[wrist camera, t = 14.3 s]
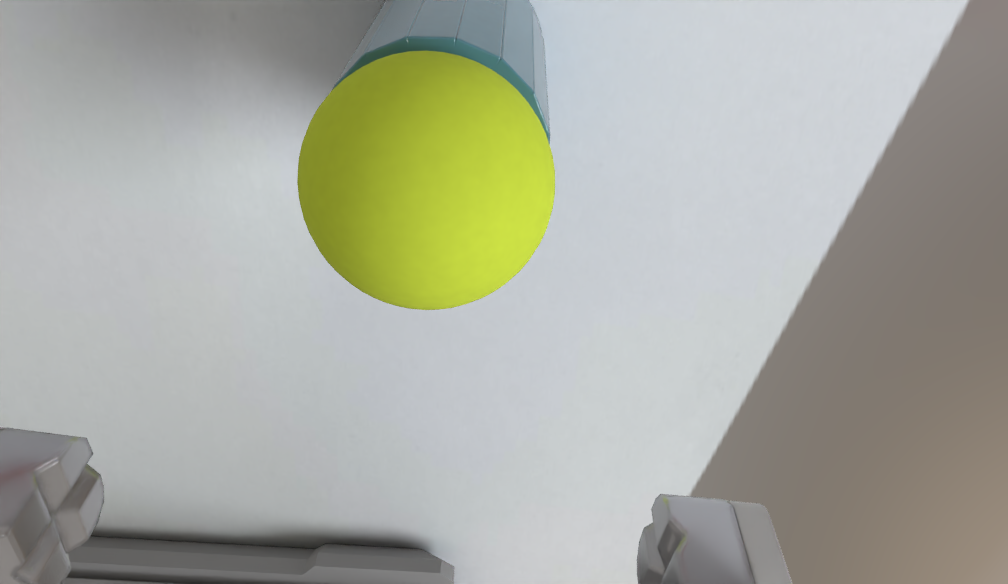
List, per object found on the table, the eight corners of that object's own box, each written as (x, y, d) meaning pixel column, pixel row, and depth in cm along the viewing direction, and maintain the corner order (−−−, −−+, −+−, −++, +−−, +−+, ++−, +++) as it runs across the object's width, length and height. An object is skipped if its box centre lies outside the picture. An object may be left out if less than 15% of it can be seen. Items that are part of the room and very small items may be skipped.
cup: (547, -39, 25) (555, 40, 18) (539, 128, 29) (543, 250, 21) (370, -43, 25) (307, 33, 18) (385, 124, 29) (337, 244, 21)
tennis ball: (555, 20, 19) (573, 114, 14) (544, 228, 22) (553, 364, 17) (312, 15, 19) (237, 108, 14) (341, 225, 22) (291, 360, 17)
